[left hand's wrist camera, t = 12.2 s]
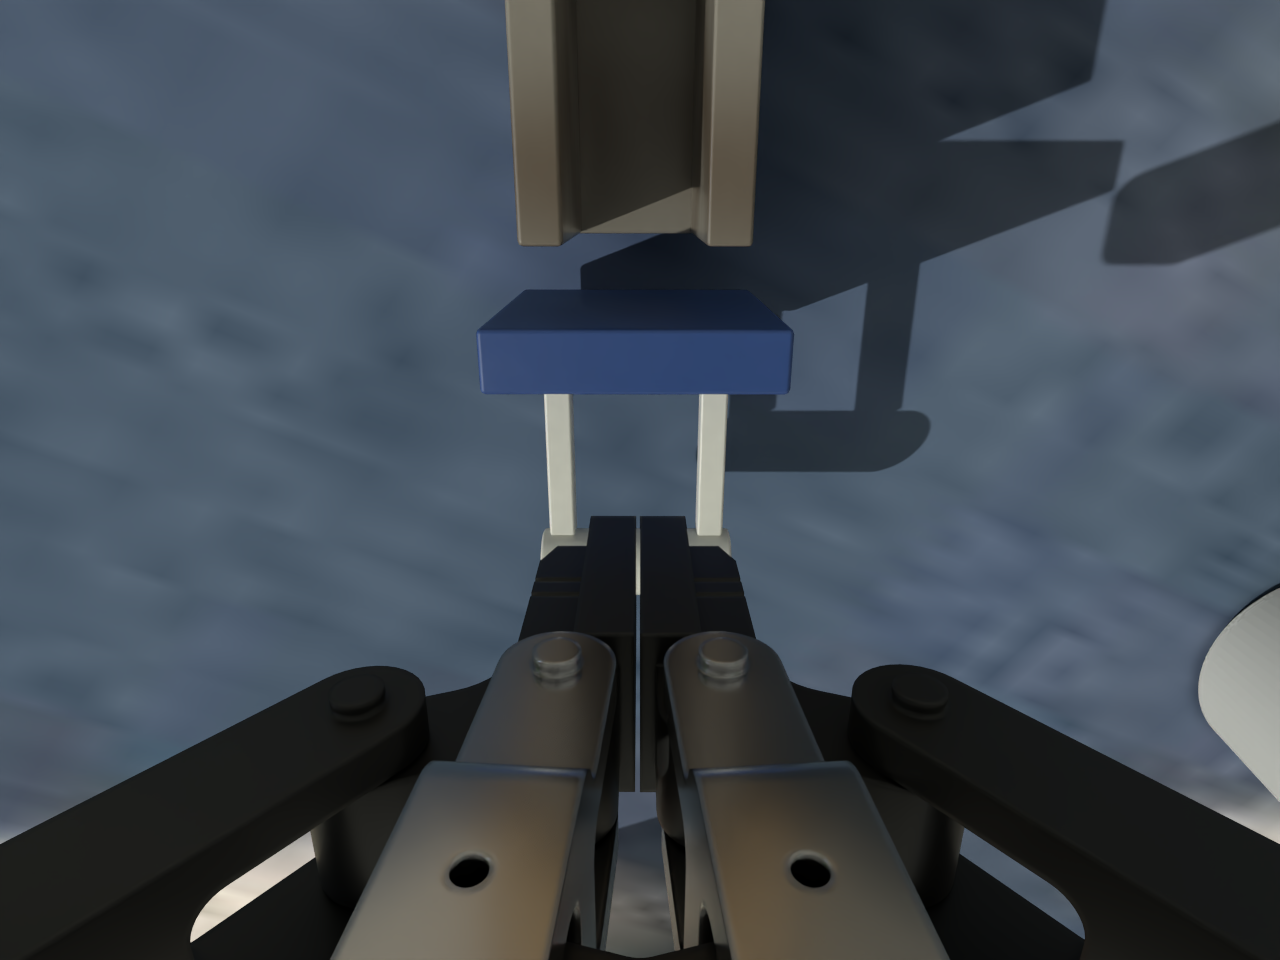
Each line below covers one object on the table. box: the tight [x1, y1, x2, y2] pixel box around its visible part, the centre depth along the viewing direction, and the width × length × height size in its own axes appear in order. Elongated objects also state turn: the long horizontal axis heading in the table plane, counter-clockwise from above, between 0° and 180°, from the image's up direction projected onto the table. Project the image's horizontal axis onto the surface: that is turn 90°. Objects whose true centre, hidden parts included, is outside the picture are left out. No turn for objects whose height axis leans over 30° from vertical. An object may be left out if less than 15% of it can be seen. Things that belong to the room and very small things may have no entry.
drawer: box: [476, 0, 794, 595], centre depth 15 cm, size 23×6×6 cm, turn 0°
